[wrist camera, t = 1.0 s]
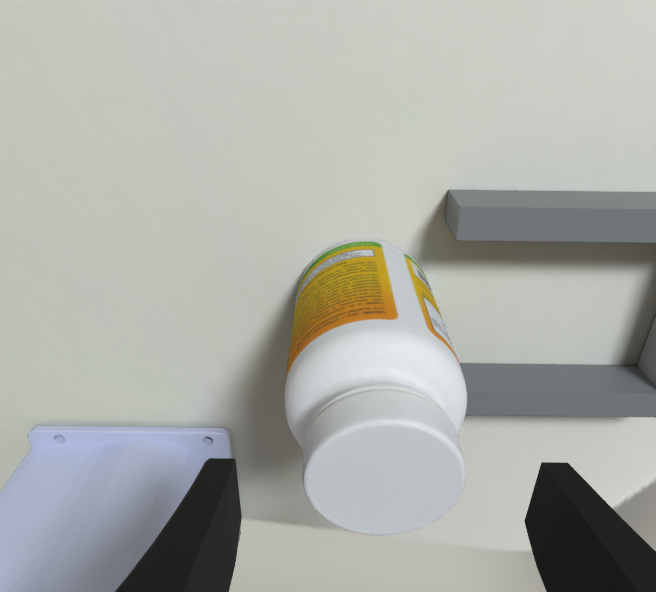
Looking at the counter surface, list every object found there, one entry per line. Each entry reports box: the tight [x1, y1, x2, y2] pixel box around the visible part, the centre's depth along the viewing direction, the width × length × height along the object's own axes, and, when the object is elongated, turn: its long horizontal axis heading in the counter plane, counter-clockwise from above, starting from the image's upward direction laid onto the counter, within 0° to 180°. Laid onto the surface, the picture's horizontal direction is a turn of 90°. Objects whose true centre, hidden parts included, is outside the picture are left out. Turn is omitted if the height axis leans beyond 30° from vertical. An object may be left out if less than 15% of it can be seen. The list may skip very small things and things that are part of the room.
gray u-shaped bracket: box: [445, 190, 656, 417], centre depth 20 cm, size 10×9×2 cm
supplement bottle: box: [285, 238, 467, 535], centre depth 16 cm, size 5×5×10 cm
